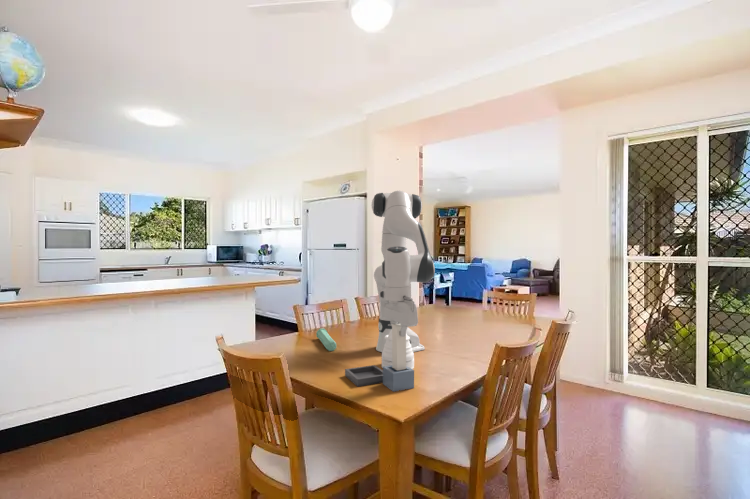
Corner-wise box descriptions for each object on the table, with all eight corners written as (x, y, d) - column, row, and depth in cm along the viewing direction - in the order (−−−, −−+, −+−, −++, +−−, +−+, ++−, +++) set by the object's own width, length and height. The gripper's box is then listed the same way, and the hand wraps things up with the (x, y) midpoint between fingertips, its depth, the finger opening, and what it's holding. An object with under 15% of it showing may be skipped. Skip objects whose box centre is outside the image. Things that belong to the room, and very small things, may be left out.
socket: (402, 380, 141) (402, 363, 141) (414, 388, 134) (414, 370, 134) (382, 383, 137) (382, 366, 137) (393, 391, 130) (393, 373, 130)
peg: (401, 366, 138) (400, 323, 138) (406, 369, 135) (405, 325, 134) (392, 367, 137) (392, 324, 136) (397, 370, 133) (396, 326, 133)
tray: (374, 371, 151) (374, 365, 151) (388, 381, 140) (389, 374, 140) (345, 375, 146) (345, 369, 145) (357, 386, 135) (357, 379, 135)
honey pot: (375, 365, 158) (375, 320, 158) (399, 359, 166) (399, 317, 166) (395, 374, 148) (396, 326, 148) (420, 367, 156) (421, 322, 155)
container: (335, 338, 179) (324, 326, 202) (323, 344, 177) (314, 331, 201) (340, 349, 179) (329, 336, 203) (328, 355, 178) (318, 341, 202)
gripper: (422, 297, 127) (423, 340, 127) (392, 290, 145) (393, 327, 146) (405, 299, 124) (406, 342, 125) (377, 291, 143) (378, 329, 143)
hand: (399, 334), depth 135 cm, fingers closed on peg, 3 cm apart
